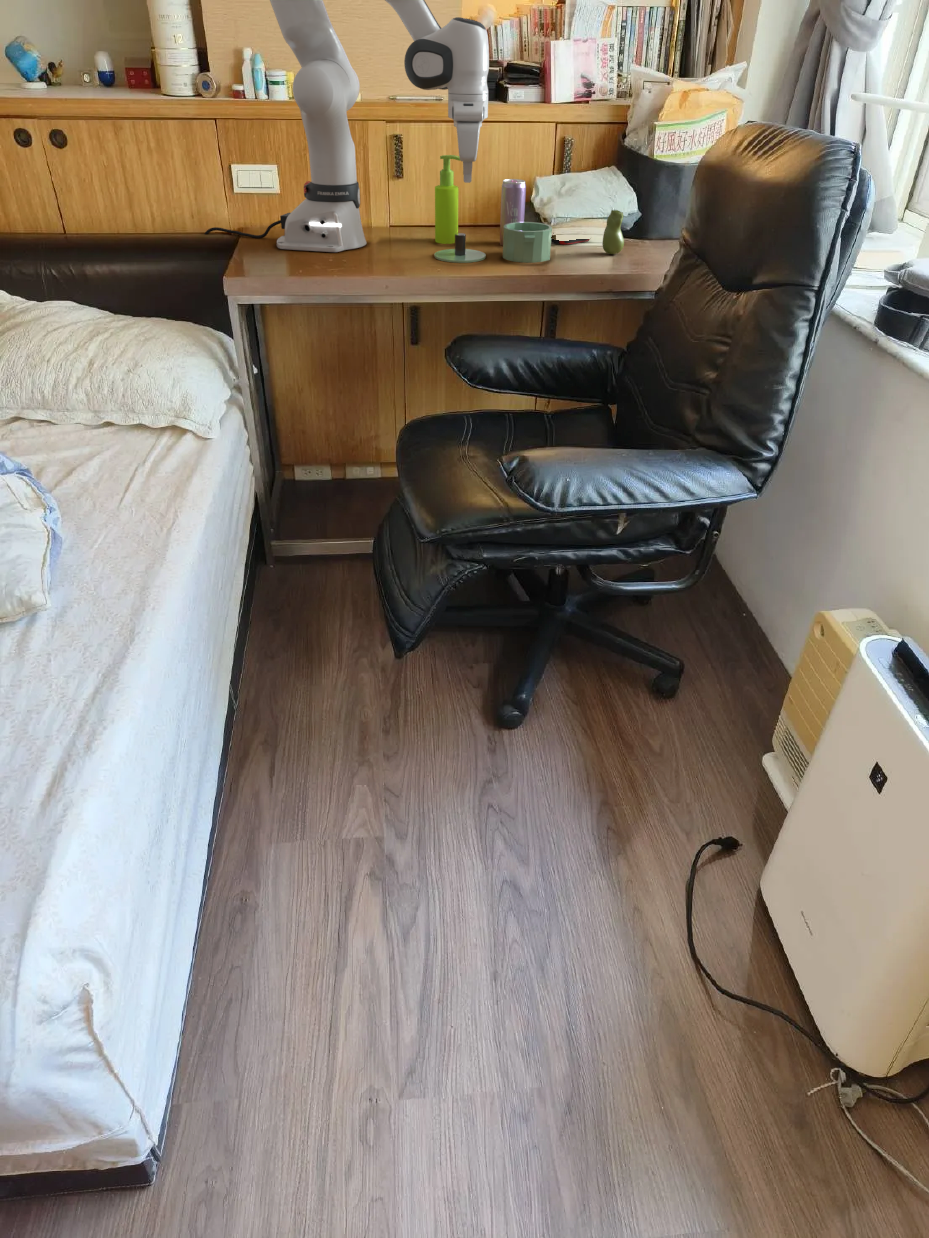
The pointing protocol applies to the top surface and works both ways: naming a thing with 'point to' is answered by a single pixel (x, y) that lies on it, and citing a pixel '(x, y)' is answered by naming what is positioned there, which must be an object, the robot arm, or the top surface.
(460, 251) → the pot lid
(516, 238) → the pot
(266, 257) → the top surface
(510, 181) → the beverage can
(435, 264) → the top surface
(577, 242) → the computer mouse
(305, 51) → the robot arm
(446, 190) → the soap dispenser
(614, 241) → the pear
